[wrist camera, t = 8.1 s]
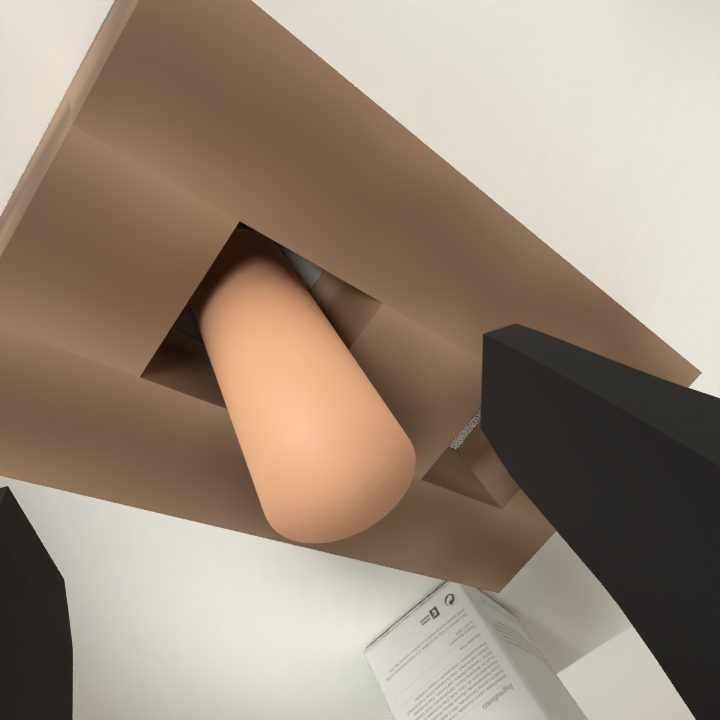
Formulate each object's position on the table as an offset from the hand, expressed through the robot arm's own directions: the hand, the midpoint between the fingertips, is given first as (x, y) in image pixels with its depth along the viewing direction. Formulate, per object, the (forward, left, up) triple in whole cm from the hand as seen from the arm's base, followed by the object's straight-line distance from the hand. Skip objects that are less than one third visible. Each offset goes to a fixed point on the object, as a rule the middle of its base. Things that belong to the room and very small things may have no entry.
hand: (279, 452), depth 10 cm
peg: (-1, -2, -10) cm, 10 cm away
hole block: (-1, -7, -10) cm, 12 cm away
